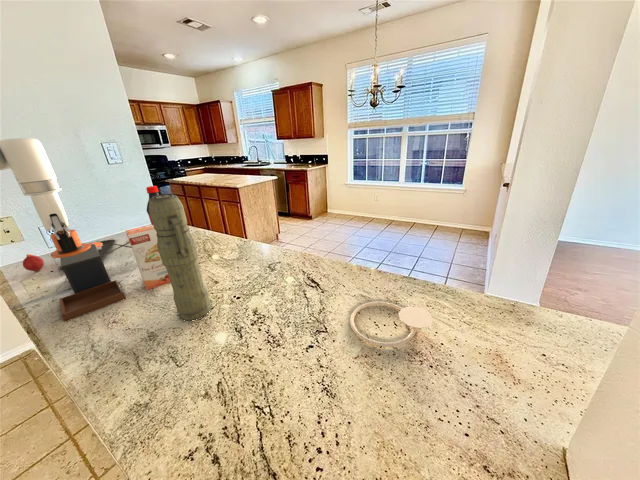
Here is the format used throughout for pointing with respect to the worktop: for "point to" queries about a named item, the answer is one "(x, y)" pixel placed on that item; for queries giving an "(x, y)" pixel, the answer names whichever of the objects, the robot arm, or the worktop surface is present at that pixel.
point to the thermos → (179, 256)
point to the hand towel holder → (408, 315)
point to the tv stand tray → (90, 300)
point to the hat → (61, 254)
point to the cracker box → (148, 256)
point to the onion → (33, 263)
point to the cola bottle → (152, 192)
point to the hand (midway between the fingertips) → (69, 247)
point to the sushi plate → (105, 247)
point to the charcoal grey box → (85, 270)
